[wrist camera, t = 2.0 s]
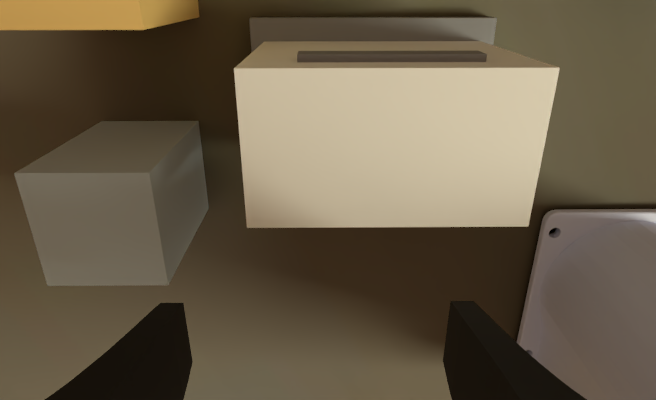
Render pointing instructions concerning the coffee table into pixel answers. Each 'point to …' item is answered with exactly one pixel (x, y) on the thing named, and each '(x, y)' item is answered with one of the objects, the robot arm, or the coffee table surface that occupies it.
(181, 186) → the slate block
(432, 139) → the cream unit
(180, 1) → the ochre block
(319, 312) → the coffee table surface
